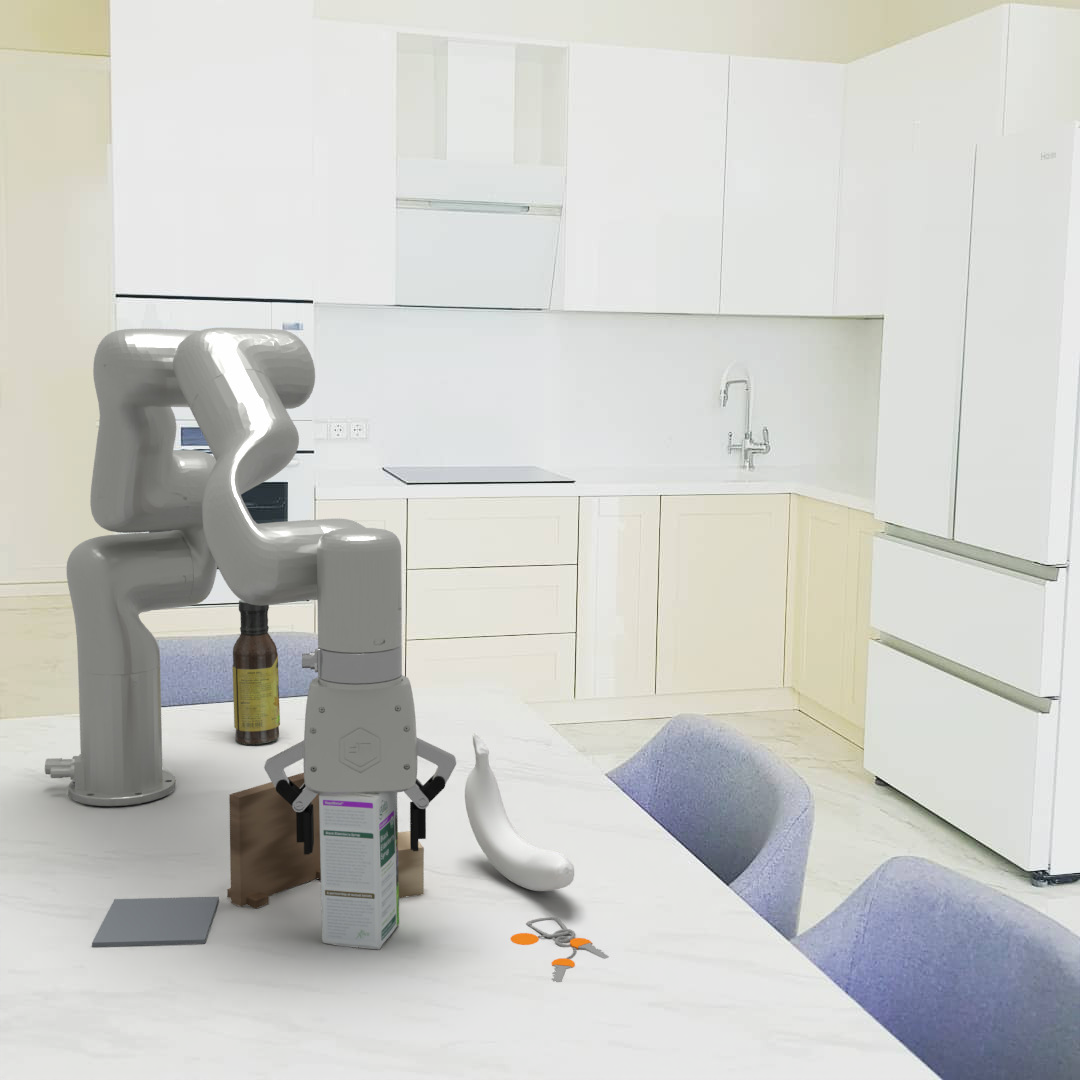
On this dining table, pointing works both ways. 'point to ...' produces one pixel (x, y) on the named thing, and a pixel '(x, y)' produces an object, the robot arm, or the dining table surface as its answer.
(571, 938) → the key chain
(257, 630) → the sauce bottle
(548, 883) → the banana
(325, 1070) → the dining table surface
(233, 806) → the screen
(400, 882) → the oak cube
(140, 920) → the mat
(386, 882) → the syrup box
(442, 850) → the dining table surface
